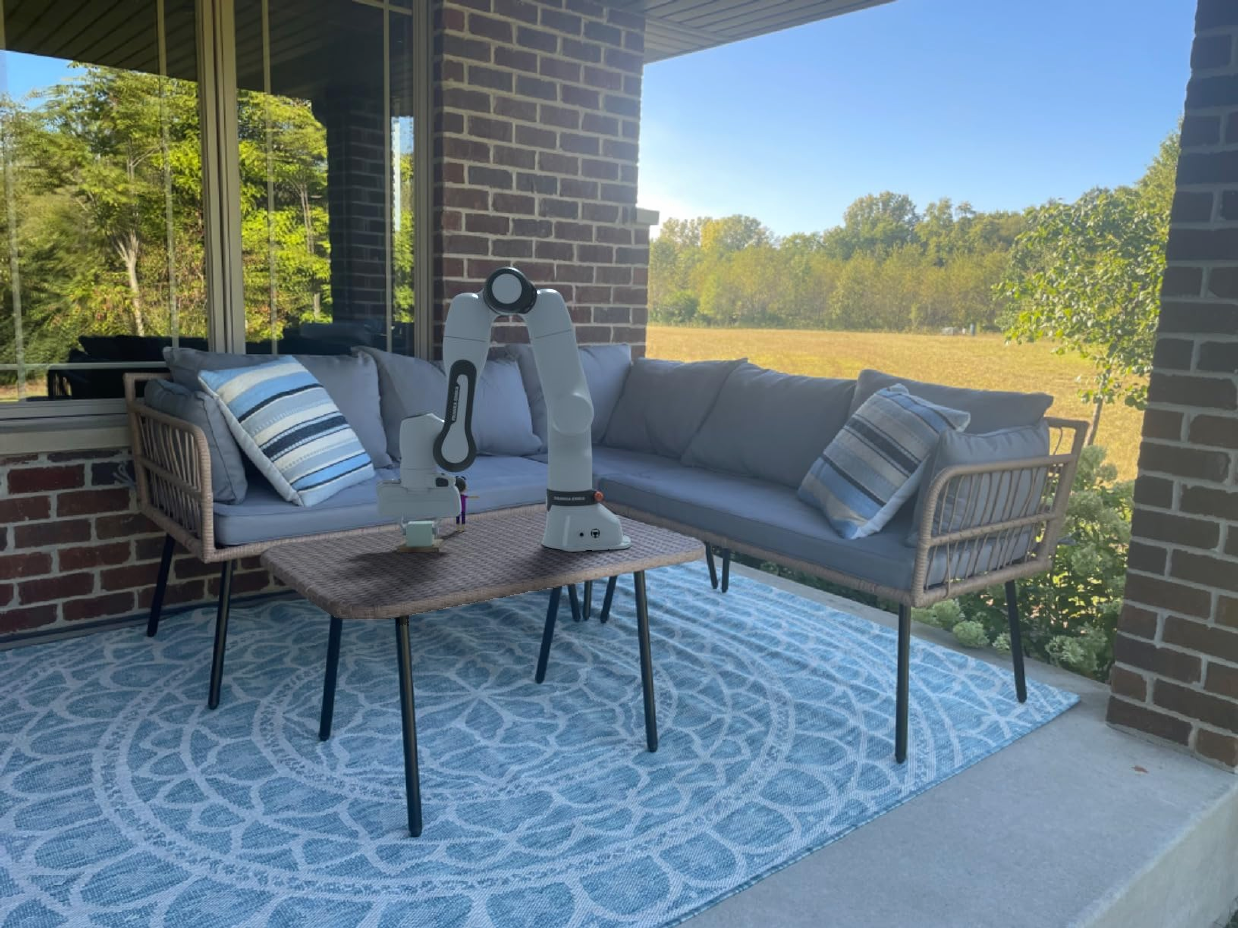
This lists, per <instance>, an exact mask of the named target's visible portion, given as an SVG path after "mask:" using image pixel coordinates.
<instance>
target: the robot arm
mask: <svg viewBox="0 0 1238 928" xmlns="http://www.w3.org/2000/svg"><path fill="white" fill-rule="evenodd" d="M514 315H518V316H519V317H521V318H522V320H523V321H524V323H525V325H526V329H527V333H528V336H529V341H530V345H531V346H530V347H531V350H532V354H533V359H534V362H535V366H536V370H537V375H538V379H539V383H540V386H541V390H542V394H543V398H544V399H543V400H544V403H545V407H546V413H547V414H546V417H547V419H546V425H547V487H546V493H545V508H546V522H545V528H544V534H543V538H542V541H541V545H543V547H547V548H550V549H557V550H562V551H564V552H571V553H572V552H587V551H586V550H592V551H607V550H608V549H609V550H623V549H628V548H630V547H631V546H632V541H631V538H630V537H629V536H628V535H626V534H624V533H623V526H622V524H621V520H620V519H619V517H618V516H617V515H616V514H614V513H613V512H612V511H610V510H609V508H606V507H605V506H604V505H603V504H601V503H600V502H601V501H602V499H604V494H603V493H602V492H601V491H599V490H598V489H596V488H594V487H593V451H592V449H593V448H592V427H591V425H592V423H593V421H594V417H595V408H594V405H593V401H592V400H593V399H592V396H591V394H590V393H591V392H590V389H589V386H588V381H587V377H586V373H585V371H584V367H583V363H582V359H581V355H580V350H579V347H578V342H577V338H576V334H575V329H574V324H573V322H572V318H571V315H570V312H569V309H568V307H567V304H566V302H565V300H564V297H563V295H562V294H561V293H560V292H559V291H558V290H555V289H552V288H541V289H538V288H537V287H536V286H535V285H534V284H533V283H532V282H531V281H530V280H529V278H527V276H526V275H525V274H524V273H523V272H522V271H520V270H519V269H517V268H515V267H512V266H511V267H510V266H502V267H498V268H496V269H493V270H492V271H491V272H490V273H489V274H488V275H487V278H486V279H485V281H484V285H483V288H482V289H481V291H478V292H463V293H460V294H457V295H455V296H454V297H453V298H452V300H451V301H450V305H449V308H448V312H447V316H446V321H445V325H444V331H443V333H444V334H443V341H442V356H443V357H442V359H443V367H444V372H445V377H446V383H447V385H446V386H447V393H446V394H447V396H446V403H445V404H446V405H445V413H444V419H441V418H440V417H438V416H436V415H435V414H434V413H432V412H429V411H425V412H417V413H412V414H409V415H407V416H406V417H404V418H403V419H402V421H401V423H400V428H399V453H400V455H401V460H400V465H399V473H400V474H399V477H400V478H393V479H389V478H388V479H387V478H384V479H381V480H379V481H378V482H377V483H376V485H375V494H376V496H377V503H376V504H377V506H376V514H377V515H378V516H379V517H380V518H395V519H396V520H395V522H396V523H397V525H398V526H399V528H400V533H401V534H400V535H401V536H406V525H404V522H403V520H404V518H429V517H430V518H431V517H432V518H435V519H436V522H437V524H436V526H435V525H434V527H432V531H433V532H432V535H434V536H436V535H440V534H439V533H440V532H439V531H440V529H439V528H440V526H441V524H442V523H443V520H444V518H447V517H448V518H449V517H452V518H453V517H455V518H456V516H459V514H460V515H461V498H460V493H459V490H458V488H457V487H456V486H454V485H455V483H456V478H455V477H456V476H455V475H453V474H450V473H461V472H463V471H466V470H468V469H469V468H470V467H471V466H472V465H473V464H474V462H475V460H476V458H477V451H478V450H477V445H476V442H475V438H474V435H473V432H472V423H473V421H472V420H473V414H474V413H473V411H474V402H475V394H476V390H477V387H478V383H479V381H480V379H481V377H482V374H483V373H484V368H485V367H486V362H487V357H488V356H489V351H490V350H489V349H490V342H491V331H492V327H493V323H494V321H495V320H496V319H498V318H504V317H505V318H506V317H511V316H514ZM438 467H440V468H441V469H442V470H444V471H446V472H449V473H446V472H443V471H441V470H438Z"/></svg>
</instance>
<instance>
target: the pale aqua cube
mask: <svg viewBox="0 0 1238 928" xmlns="http://www.w3.org/2000/svg"><path fill="white" fill-rule="evenodd" d="M434 526H435V522H434V520H432V521H431V520H429V521H428V520H427V521H426V520H425V521H424V520H423V521H419V520H418V521H414V520H413V521H411V520H410V521H408V523H407V524H406V525H405V527H406V535H405V540H406V546H432V544H433V542H434V539H435V535H432V532H433V531H432V527H434Z"/></svg>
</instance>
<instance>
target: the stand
mask: <svg viewBox="0 0 1238 928" xmlns="http://www.w3.org/2000/svg"><path fill="white" fill-rule="evenodd" d="M443 544H444V539H443V538H434V542H433V544H432V546H406V539H402V540H401V542H400V543H399V544H398V545H397V547H396V553H440V550H441V548H442V546H443Z"/></svg>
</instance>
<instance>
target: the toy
mask: <svg viewBox="0 0 1238 928" xmlns="http://www.w3.org/2000/svg"><path fill="white" fill-rule="evenodd" d="M455 478H456V483H455V485H454V486H456V487H457V488H458V490H459V493H460V498H461V513H460V514H459V516H456V517H455V524H456V525H455V526H456V527H455V528H456V531H457V532H459V531H462V532H465V531H466V530H467V529H466V511H467V510H466V509H467V506H466V505H467V499H470V498H471V499H472V498H473V499H479V498H480V496H479V495H465V494H464V493H465V492H466V491H467V490H468V485H467V482H466V480H467V479H466V477H465V476H463V475H462V476H460V477H459V476H458V475H456V476H455ZM460 520H461V521H460ZM460 523H461V526H460ZM460 527H461V528H460Z"/></svg>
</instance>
